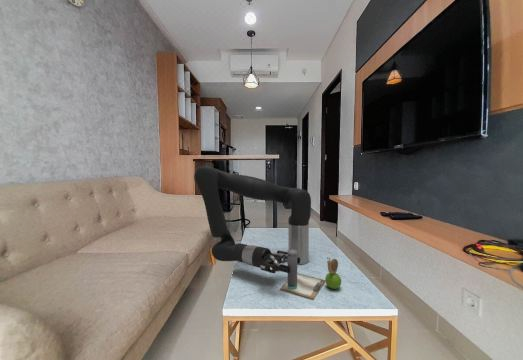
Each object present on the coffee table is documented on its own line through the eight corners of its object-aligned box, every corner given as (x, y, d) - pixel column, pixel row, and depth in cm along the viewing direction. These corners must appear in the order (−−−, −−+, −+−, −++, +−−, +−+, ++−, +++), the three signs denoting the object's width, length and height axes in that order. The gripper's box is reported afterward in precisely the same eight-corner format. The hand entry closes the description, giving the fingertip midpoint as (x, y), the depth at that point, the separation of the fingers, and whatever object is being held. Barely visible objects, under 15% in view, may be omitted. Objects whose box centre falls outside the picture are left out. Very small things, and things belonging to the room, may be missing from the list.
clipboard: (295, 273, 91) (295, 270, 91) (325, 281, 85) (325, 278, 85) (279, 290, 79) (279, 286, 79) (313, 300, 73) (313, 296, 73)
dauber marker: (289, 283, 82) (290, 248, 82) (298, 286, 81) (298, 250, 80) (285, 287, 80) (286, 251, 79) (294, 290, 78) (295, 253, 77)
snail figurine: (320, 288, 80) (321, 255, 79) (330, 282, 84) (330, 250, 84) (335, 295, 76) (335, 260, 75) (343, 287, 80) (344, 254, 80)
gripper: (245, 252, 81) (286, 262, 73) (265, 241, 93) (302, 248, 85) (245, 273, 82) (286, 284, 73) (265, 259, 94) (302, 267, 85)
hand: (295, 265), depth 79 cm, fingers open, 8 cm apart
